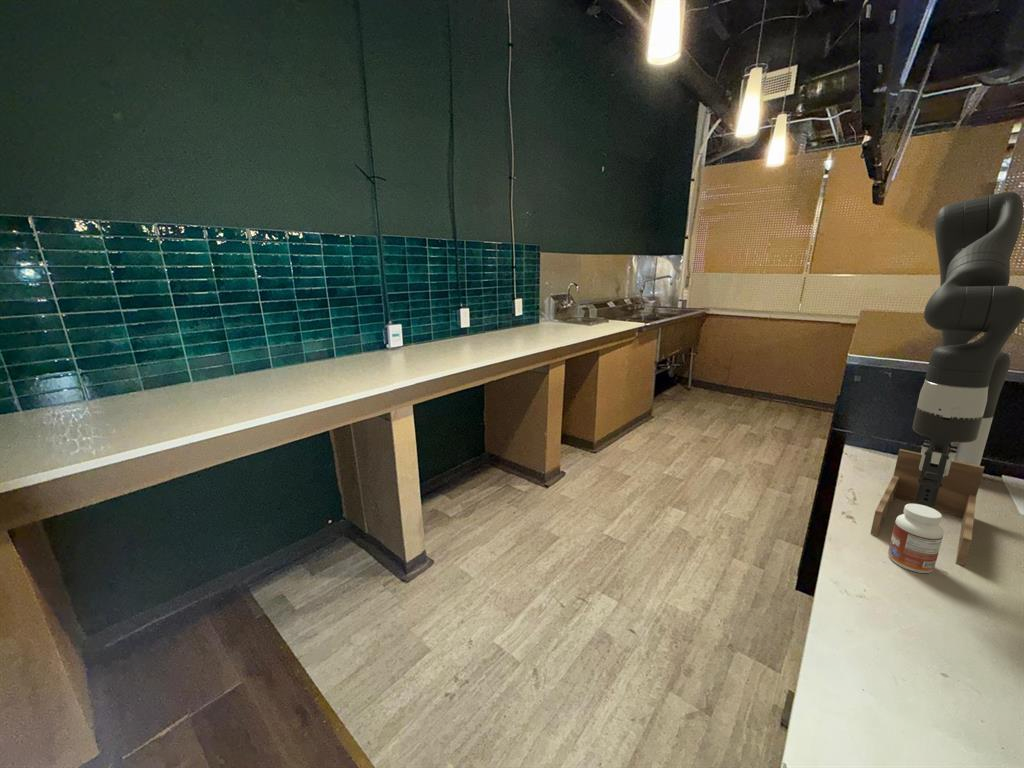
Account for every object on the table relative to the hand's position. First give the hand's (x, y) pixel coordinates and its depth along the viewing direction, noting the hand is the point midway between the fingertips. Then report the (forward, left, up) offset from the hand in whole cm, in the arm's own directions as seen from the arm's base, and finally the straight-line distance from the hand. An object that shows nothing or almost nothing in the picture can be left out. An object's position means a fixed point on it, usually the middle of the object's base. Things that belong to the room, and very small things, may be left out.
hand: (927, 495), depth 70 cm
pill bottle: (0, 0, -14) cm, 14 cm away
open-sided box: (-17, 0, -14) cm, 22 cm away
